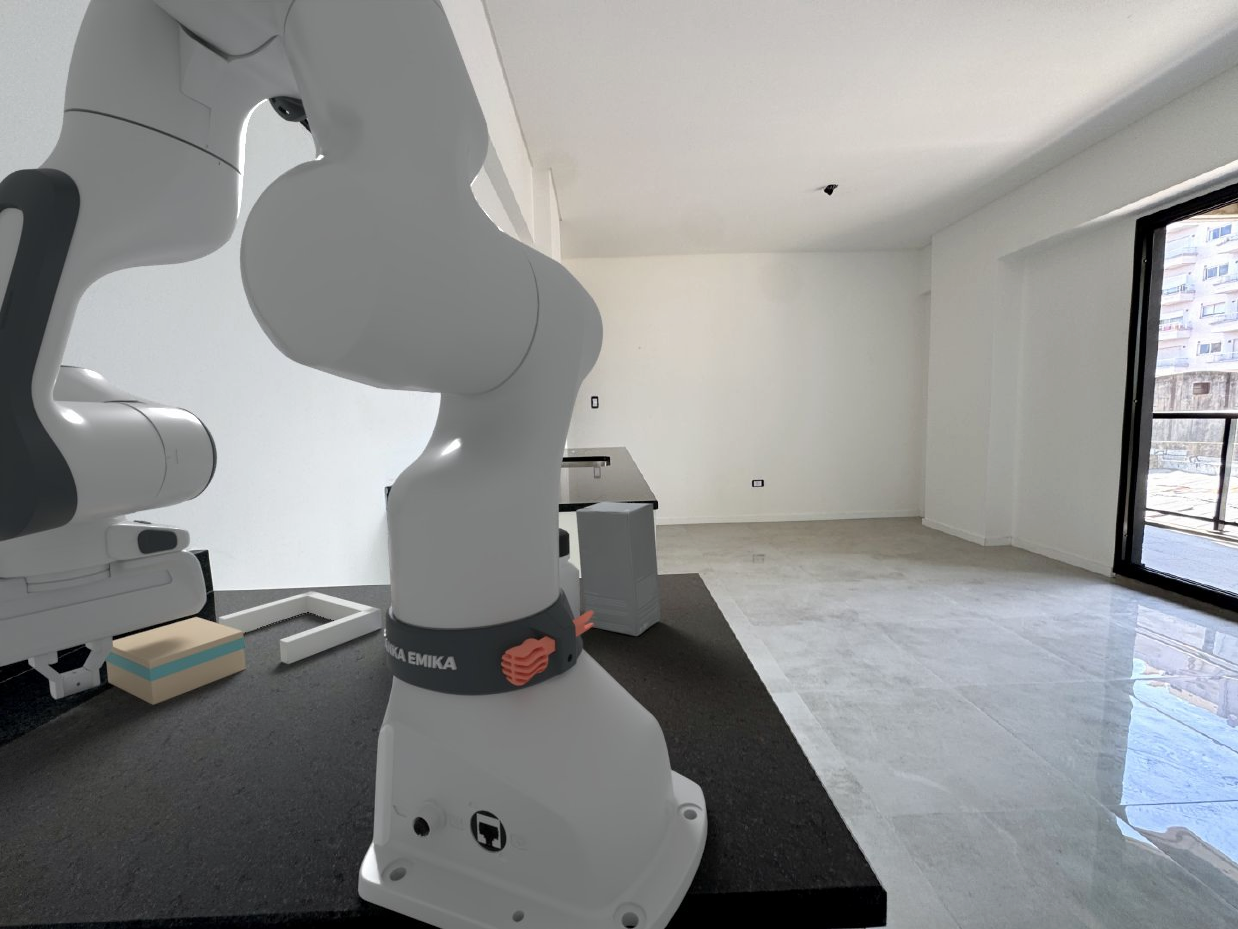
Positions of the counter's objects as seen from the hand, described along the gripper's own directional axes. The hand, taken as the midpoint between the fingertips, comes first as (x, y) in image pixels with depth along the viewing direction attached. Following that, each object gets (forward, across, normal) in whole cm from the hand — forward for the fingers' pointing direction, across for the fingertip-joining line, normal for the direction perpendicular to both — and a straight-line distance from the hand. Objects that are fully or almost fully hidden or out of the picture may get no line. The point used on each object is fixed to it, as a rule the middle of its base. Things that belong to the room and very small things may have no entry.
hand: (76, 691), depth 48 cm
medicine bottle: (+2, +40, -25) cm, 47 cm away
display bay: (+2, +20, 0) cm, 20 cm away
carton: (+2, +8, 0) cm, 8 cm away
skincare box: (+2, +42, -35) cm, 54 cm away
